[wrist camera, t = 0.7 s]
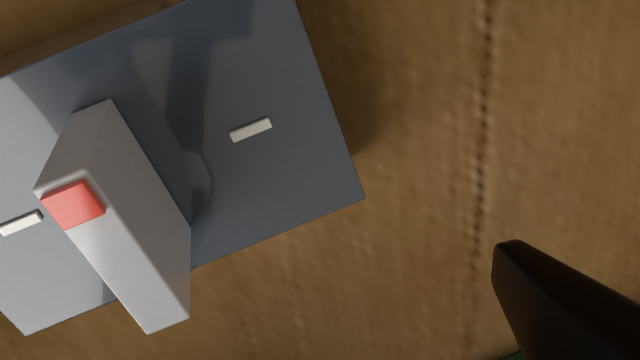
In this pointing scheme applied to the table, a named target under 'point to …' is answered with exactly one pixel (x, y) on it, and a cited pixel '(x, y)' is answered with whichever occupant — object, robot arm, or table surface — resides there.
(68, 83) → the tap panel
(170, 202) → the tap knob
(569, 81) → the table surface
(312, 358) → the table surface
